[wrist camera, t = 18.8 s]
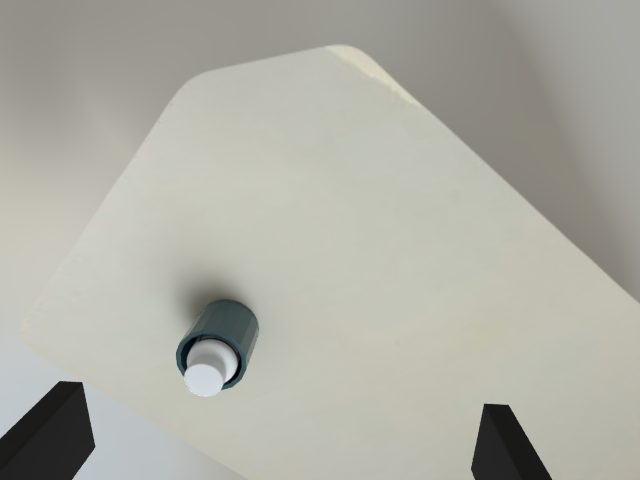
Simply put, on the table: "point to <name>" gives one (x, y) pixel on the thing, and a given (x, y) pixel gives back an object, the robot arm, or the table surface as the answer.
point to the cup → (223, 333)
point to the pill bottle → (210, 364)
